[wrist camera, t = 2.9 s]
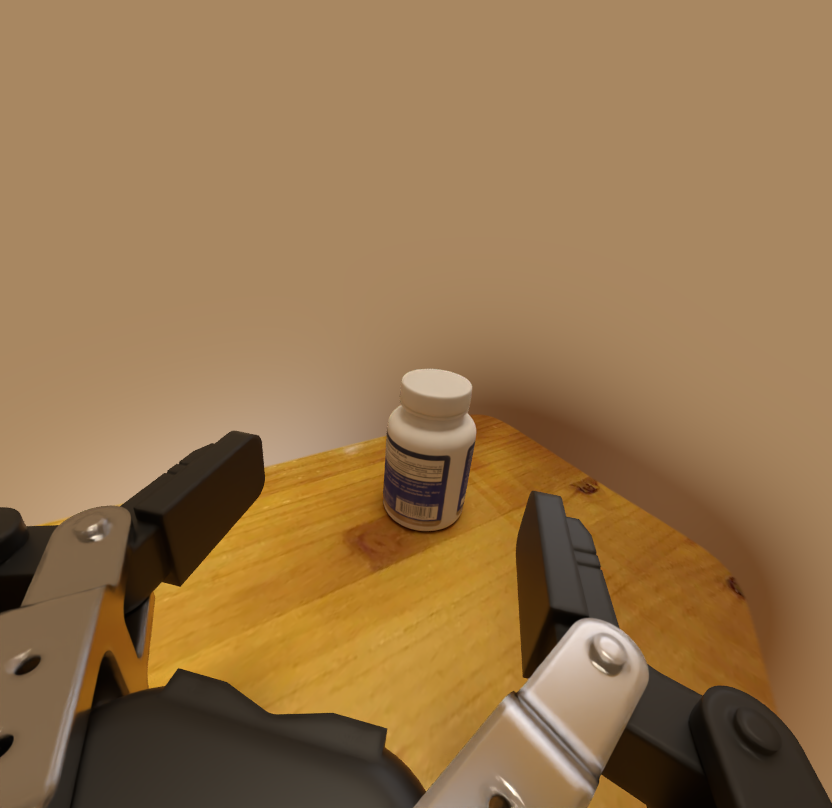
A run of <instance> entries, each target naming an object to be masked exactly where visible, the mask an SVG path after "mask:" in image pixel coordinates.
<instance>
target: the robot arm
mask: <svg viewBox="0 0 832 808" xmlns="http://www.w3.org/2000/svg"><path fill="white" fill-rule="evenodd" d="M264 482H265V472H264V461H263V450H262V441H261V438H260V437H259V436H258V435H253V434H249V433H244V432H239V431H231V432H229V433H228V434H227V435H225V436H224V437H223V438H221V439H220V440H219V441H218V442H216V443H215V444H213V443H212V444H209V445H207V446H205V447H202V448H200V449H198V450H195V451H193V452H192V453H190V454H189V455H188V456H187V457H185V458H184V459H183V460H181V461H180V462H179V464H176V465H175V466H173V467H172V468H170V469H169V470H168V472H167V473H164V474H162V475H161V476H160V477H158V478H157V479H156V480H155V481H153V482H152V483H151V484H149V485H148V486H147V487H145V488H144V489H142V490H141V491H140V492H139V493H137V494H136V495H135V496H133V497H132V498H130V499H129V500H128V501H126V502H125V503H124V504H122V505H121V506H120V507H119V506H101V507H96V508H92V509H88V510H85V511H83V512H80V513H78V514H76V515H74V516H72V517H70V518H69V519H67V520H65V521H64V522H63V523H61V524H60V525H55V526H26V525H25V524H24V521H23V519H22V517H21V515H20V513H19V512H18V511H17V510H15V509H12V508H3V507H2V508H1V507H0V808H587V807H588V805H589V803H590V801H591V799H592V797H593V795H594V793H595V791H596V789H597V786H598V784H599V778H600V775H603V776H604V777H606V778H607V779H609V780H610V781H612V782H613V783H615V784H616V785H618V786H619V787H621V788H622V789H624V790H625V791H627V792H628V793H630V794H631V795H633V796H634V797H636V798H637V799H638V800H640V801H641V802H643V803H644V804H646V805H647V808H832V803H831V801H830V799H829V797H828V795H827V793H826V792H825V790H824V788H823V786H822V784H821V782H820V781H819V779H818V777H817V775H816V773H815V771H814V769H813V767H812V765H811V764H810V762H809V760H808V758H807V756H806V754H805V752H804V750H803V749H802V747H801V746H800V744H799V742H798V740H797V739H796V737H795V736H794V735H793V733H792V732H791V731H790V730H789V728H788V727H787V726H786V725H785V724H784V723H783V721H782V720H781V719H780V718H779V717H778V716H777V715H776V714H775V713H773V712H772V711H771V710H770V709H769V708H768V707H766V706H765V705H764V704H762V703H761V702H760V701H758V700H757V699H755V698H753V697H752V696H750V695H749V694H747V693H745V692H743V691H740V690H738V689H735V688H732V687H728V686H714V687H711V688H709V689H708V690H707V691H706V692H705V694H704V695H703V696H702V695H700V694H698V693H696V692H695V691H693V690H691V689H689V688H687V687H685V686H683V685H682V684H680V683H678V682H676V681H674V680H672V679H670V678H669V677H667V676H665V675H663V674H661V673H660V672H658V671H656V670H655V669H654V668H652V667H651V666H649V665H648V664H647V663H646V660H645V658H644V656H643V654H642V652H641V651H640V649H639V648H638V646H637V645H636V644H635V643H634V641H633V640H632V639H631V638H630V637H629V636H628V635H627V634H625V633H624V632H623V631H622V630H620V628H619V625H618V622H617V619H616V615H615V612H614V609H613V605H612V602H611V599H610V595H609V592H608V589H607V585H606V582H605V579H604V576H603V572H602V570H600V567H601V566H600V562H599V559H598V556H597V555H596V549H595V546H594V543H593V539H592V536H591V534H590V533H589V532H588V530H587V529H586V528H585V527H584V525H583V524H582V523H581V521H580V520H579V519H575V518H570V517H566V514H565V510H564V506H563V502H562V498H561V497H560V496H557V495H552V494H547V493H542V492H537V491H532V492H531V493H530V496H529V499H528V502H527V505H526V509H525V512H524V516H523V519H522V522H521V526H520V529H519V533H518V537H517V544H516V565H517V583H518V600H519V618H520V635H521V653H522V670H523V677H524V678H528V681H527V682H526V683H525V684H524V686H523V687H522V688H521V689H520V690H519V691H518V692H517V693H515V692H514V691H513V692H511V693H510V694H508V695H507V696H506V697H505V698H504V699H503V700H502V702H501V703H500V704H499V705H498V706H497V708H496V709H495V710H494V711H493V712H492V714H491V715H490V716H489V717H488V718H487V720H486V721H485V722H484V723H483V724H482V726H481V727H480V728H479V729H478V730H477V732H476V733H475V734H474V735H473V736H472V738H471V739H470V740H469V741H468V742H467V744H466V745H465V746H464V747H463V748H462V750H461V751H460V752H459V753H458V754H457V756H456V757H455V758H454V759H453V760H452V762H451V763H450V764H449V765H448V766H447V768H446V769H445V770H444V771H443V772H442V774H441V775H440V776H439V777H438V778H437V780H436V781H435V782H434V783H433V784H432V786H431V787H430V788H429V789H428V790H427V792H426V791H425V789H424V788H423V786H422V785H421V783H420V781H419V780H418V779H417V777H416V776H415V775H414V774H413V772H412V771H411V770H410V769H409V768H408V766H406V765H405V764H404V763H403V762H402V761H401V760H400V759H399V758H398V757H397V756H396V755H394V754H393V753H392V752H390V751H389V750H388V749H386V748H385V742H386V734H387V728H383V727H380V726H376V725H373V724H370V723H366V722H363V721H359V720H356V719H352V718H349V717H345V716H342V715H338V714H335V713H314V714H279V715H277V714H271V713H268V712H267V711H265V710H264V709H262V708H261V707H260V706H258V705H257V704H256V703H254V702H253V701H252V700H250V699H249V698H248V697H246V696H245V695H243V694H242V693H241V692H239V691H238V690H237V689H235V688H234V687H233V686H231V685H230V684H229V683H227V682H224V681H221V680H217V679H214V678H210V677H207V676H203V675H200V674H197V673H193V672H190V671H186V670H183V669H179V668H178V669H177V671H176V672H175V673H174V675H173V676H172V678H171V679H170V680H169V682H168V683H167V685H166V686H162V687H156V688H150V689H149V686H148V674H147V670H148V658H149V649H150V640H151V631H152V622H153V613H154V604H155V595H154V592H153V591H154V590H155V589H156V588H157V587H158V585H159V584H160V583H161V582H164V583H168V584H172V585H176V586H180V587H181V585H182V584H183V583H184V582H185V581H186V580H187V578H188V577H189V576H190V575H191V574H192V573H193V572H194V570H195V569H196V568H197V567H198V566H199V565H200V564H201V562H202V561H203V560H204V559H205V558H206V557H207V556H208V554H209V553H210V552H211V551H212V550H213V549H214V548H215V546H216V545H217V544H218V543H219V542H220V541H221V540H222V538H223V537H224V536H225V535H226V534H227V533H228V531H229V530H230V529H231V528H232V527H233V526H234V525H235V523H236V522H237V521H238V520H239V519H240V518H241V517H242V515H243V514H244V513H245V512H246V511H247V510H248V509H249V507H250V506H251V505H252V504H253V503H254V502H255V501H256V499H257V498H258V497H259V495H260V494H261V492H262V489H263V486H264Z"/></svg>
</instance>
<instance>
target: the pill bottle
mask: <svg viewBox="0 0 832 808" xmlns="http://www.w3.org/2000/svg"><path fill="white" fill-rule="evenodd" d="M471 395H472V385H471V383H470V382H469V381H468V380H467V379H466V378H464V377H463V376H461V375H458V374H456V373H453V372H449V371H445V370H438V369H419V370H414V371H411V372H408V373H407V374H405V375H404V377H403V378H402V383H401V391H400V403H401V406H399V407H397V408H396V409H395V410H394V411H393V412H392V414H391V415H390V417H389V420H388V427H387V439H386V459H385V475H384V490H383V503H384V507H385V509H386V511H387V513H388V514H389V516H390V517H391V518H392V519H393V520H394V521H396V522H397V523H399V524H401V525H402V526H404V527H407V528H410V529H413V530H418V531H434V530H440V529H443V528H446V527H448V526H450V525H451V524H453V523H454V522H455V521H456V520H457V519H458V517H459V516H460V514H461V512H462V508H463V504H464V499H465V494H466V488H467V483H468V477H469V472H470V466H471V461H472V455H473V450H474V445H475V439H476V427H475V423H474V421H473V419H472V418H471V417H470V416H469V414H467V412H468V410H469V406H470V401H471Z"/></svg>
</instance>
